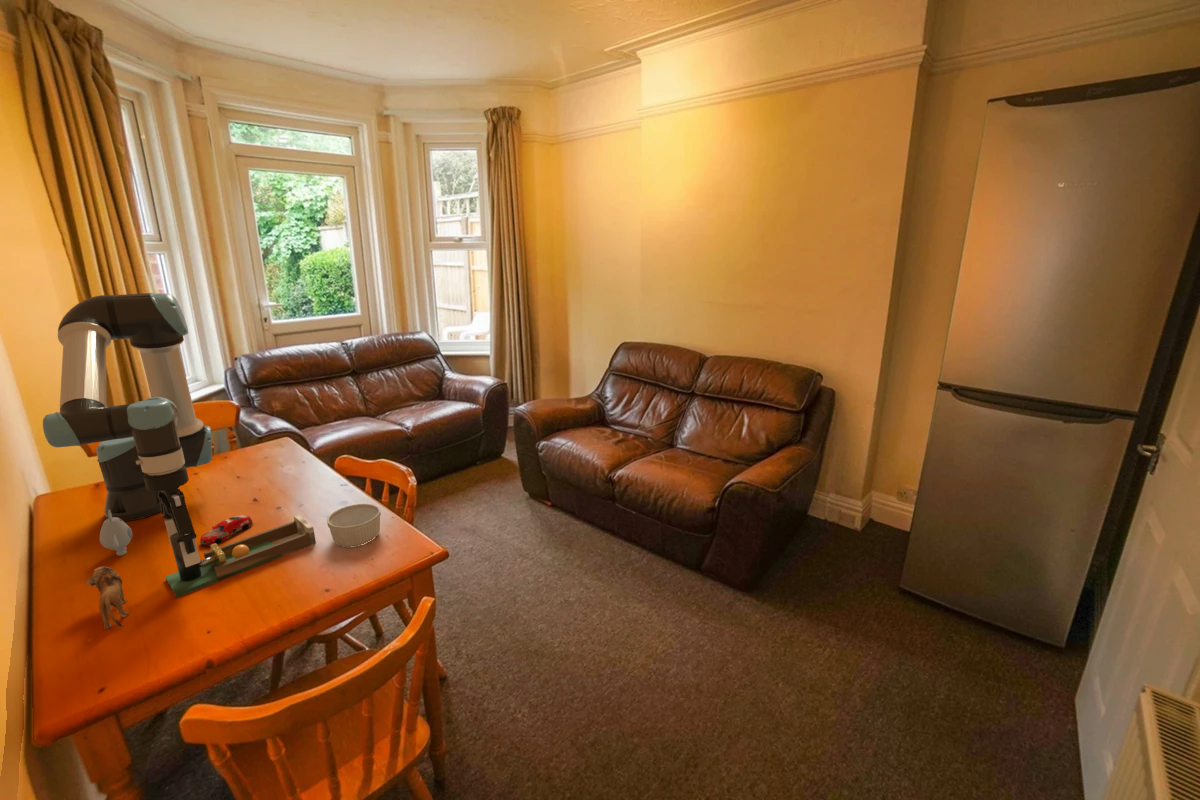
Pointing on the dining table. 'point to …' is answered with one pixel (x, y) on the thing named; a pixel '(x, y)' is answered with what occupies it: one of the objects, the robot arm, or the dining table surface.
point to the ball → (240, 551)
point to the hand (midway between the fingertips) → (185, 553)
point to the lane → (249, 555)
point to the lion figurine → (108, 593)
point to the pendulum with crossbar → (195, 570)
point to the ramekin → (354, 524)
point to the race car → (226, 530)
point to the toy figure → (115, 534)
